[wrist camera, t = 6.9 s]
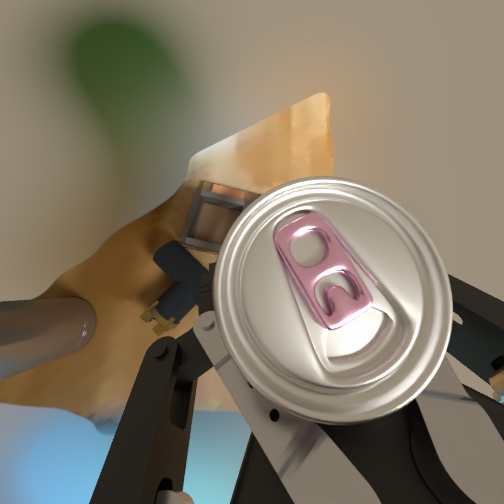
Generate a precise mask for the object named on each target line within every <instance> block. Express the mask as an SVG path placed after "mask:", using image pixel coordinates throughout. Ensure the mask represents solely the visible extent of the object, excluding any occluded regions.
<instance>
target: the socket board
mask: <svg viewBox="0 0 504 504" xmlns="http://www.w3.org/2000/svg"><path fill="white" fill-rule="evenodd" d="M260 196H261V195H259V194H255V193H251V192H246V191H242V190H238V189H234V188H230V187H226V186H222V185H218V184H213V183H209V182H205V181H204V183H203V186H202V189H197V188H196V191H195V194H194V197H193V200H192V203H191V206H190V209H189V212H188V215H187V218H186V221H185V224H184V228H183V231H182V234H181V237H180V240H179V242H181V243H182V244H184V245H183V246H184V247H186V248H190V249H194V250H198V251H202V252H206V253H210V254H214V255H218V254H219V252H220V249H221V246H222V244H223V241H224V239H225V237H226V235H227V233H228V232H229V230H230V228H231V226H232V225H233V224H234V222H235V221H236V219H237V218H238V217H239V216H240V214H241V213H242V212H243V211H244V210H245V209H246V208H247V207H248V206H249V205H250V204H251V203H252V202H253V201H254V200H256V199H257V198H258V197H260Z"/></svg>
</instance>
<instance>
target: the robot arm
mask: <svg viewBox="0 0 504 504" xmlns="http://www.w3.org/2000/svg"><path fill="white" fill-rule="evenodd" d="M215 264H216V262H215V263H211V264H209V272H208V273H205V274H202V276H201V278H200V280H199V317H198V318H197V319H196V321H195V323H194V326H193V327H192V329H190V330H189V331H188V332H186V333H185V334H183V335H181V336H180V337H178V338H177V339H174V338H173V337H170V336H166V337H162V338H160V339H158V340H156V341H155V342H154V343H153V344H152V345H151V346H150V347H149V348H148V350H147V351H146V354H145V356H144V359H143V361H142V364H141V367H140V369H139V372H138V375H137V377H136V380H135V383H134V385H133V388H132V391H131V393H130V396H129V399H128V401H127V404H126V407H125V409H124V412H123V415H122V417H121V420H120V423H119V425H118V428H117V431H116V433H115V436H114V439H113V441H112V444H111V447H110V450H109V452H108V455H107V457H106V460H105V463H104V466H103V468H102V471H101V474H100V476H99V479H98V481H97V484H96V487H95V489H94V492H93V495H92V498H91V500H90V503H89V504H194V502H193V500H192V498H191V497H190V496H189V494H187V493H185V492H182V491H183V483H184V476H185V469H186V461H187V454H188V446H189V439H190V432H191V424H192V417H193V409H194V402H195V395H196V387H197V380H198V377H199V376H201V375H202V374H204V373H205V372H206V371H208V370H209V369H210V368H212V367H213V366H214V367H215V369H216V371H217V373H218V374H219V376H220V378H221V379H222V381H223V383H224V384H225V386H226V388H227V390H228V391H229V393H230V395H231V396H232V398H233V400H234V401H235V403H236V405H237V406H238V408H239V410H240V412H241V413H242V415H243V416H244V418H245V420H246V422H247V423H248V425H249V427H250V428H251V430H252V432H251V435H250V438H249V442H248V445H247V448H246V452H245V455H244V458H243V461H242V465H241V468H240V472H239V475H238V478H237V482H236V485H235V488H234V491H233V495H232V498H231V502H230V504H504V302H503V301H501V300H499V299H497V298H495V297H493V296H491V295H489V294H487V293H485V292H483V291H481V290H479V289H477V288H475V287H473V286H471V285H469V284H467V283H465V282H463V281H461V280H459V279H457V278H455V277H453V276H451V275H449V274H448V277H449V281H450V286H451V292H452V301H453V312H455V313H456V314H458V315H459V316H460V317H461V319H462V321H463V324H462V325H461V324H459V323H457V322H456V321H454V320H453V322H452V330H451V335H450V340H449V344H448V347H447V352H448V353H450V354H451V355H452V356H453V357H455V358H456V359H457V360H458V361H460V362H461V363H462V364H464V365H465V366H466V367H467V368H469V369H470V370H471V371H473V372H474V373H475V374H476V375H478V376H479V377H480V378H481V379H483V380H484V381H485V382H487V383H488V384H489V385H491V387H492V389H493V390H494V391H495V392H494V393H493V398H494V399H492V398H490V397H488V396H486V395H484V394H482V393H480V392H478V391H476V390H474V389H472V388H470V387H468V386H466V385H464V384H462V383H461V382H460V380H459V379H458V377H457V375H456V373H455V372H454V370H453V368H452V366H451V365H450V363H449V361H448V359H447V358H446V356H444V359H443V361H442V363H441V365H440V367H439V369H438V371H437V372H436V374H435V376H434V377H433V379H432V380H431V381H430V383H429V384H428V385H427V387H426V388H425V389H424V390H423V391H422V392H421V393H420V394H419V395H418V396H417V397H416V398H415V399H414V400H413V401H411V402H410V403H409V404H408V405H406V406H405V407H403V408H402V409H400V410H399V411H397V412H395V413H393V414H391V415H389V416H387V417H384V418H382V419H379V420H376V421H373V422H369V423H364V424H357V425H328V424H322V423H317V422H313V421H309V420H306V419H303V418H300V417H298V416H295V415H293V414H291V413H289V412H287V411H285V410H283V409H281V408H280V407H278V406H276V405H275V404H273V403H272V402H271V401H269V400H268V399H267V398H265V397H264V396H263V395H262V394H260V393H259V392H258V391H257V390H256V389H255V388H254V387H253V386H252V385H251V384H250V383H249V382H248V381H247V379H246V378H245V377H244V376H243V374H242V373H241V372H240V371H239V369H238V368H237V366H236V365H235V363H234V361H233V360H232V358H231V356H230V354H229V353H228V351H227V349H226V346H225V344H224V342H223V340H222V337H221V334H220V331H219V328H218V324H217V321H216V317H215V312H214V307H213V298H212V284H213V274H214V269H215ZM95 326H96V316H95V312H94V310H93V308H92V307H91V305H90V304H89V303H88V302H87V301H85V300H83V299H81V298H77V297H65V298H49V299H33V300H19V301H3V302H0V381H3V380H5V379H8V378H10V377H13V376H15V375H18V374H21V373H23V372H26V371H28V370H31V369H33V368H36V367H39V366H41V365H44V364H46V363H49V362H52V361H54V360H57V359H59V358H62V357H64V356H67V355H69V354H72V353H74V352H77V351H78V350H80V349H81V348H83V347H84V346H85V345H86V344H87V343H88V341H89V340H90V339H91V337H92V335H93V333H94V330H95Z"/></svg>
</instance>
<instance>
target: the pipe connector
mask: <svg viewBox="0 0 504 504" xmlns="http://www.w3.org/2000/svg"><path fill="white" fill-rule="evenodd" d="M153 261H154V262H155V263H156V264H157V265H158V266H159V267H160V268H161V269H162V270H163V271H164V272H165V273H166V274H167V275H168V276H169V277H170V278H171V279H172V280H173V281H174V282H175V283H174V284H172V285H171V286H170V287H169V288H168V289H167V290H166V291H165V292H164V293H163V294H162V295H161V296H160V297H159V298H158V299H157V300H155V301H154V302H153V303H152V304H151V305H150V306H149V308H148V309H147V310H146V311H145V312H144V313H143V314H142V315H141V316H140V317H141V318H142V319H143V320H144V321H145V322H146V323H147V322H150V321H151V320H152V319H154V320H156V321H157V322H159V323H158V324H157V325H156V326H155V327H154V328H153V329H152V330H153V331H154V332H155V333H156V334H157V335H158V336H159V335H161V334H162V333H163V332H164V331H168V330H170V329H173V328H175V327H176V326H177V325H178V324H179V322H180V320H181V319H182V318H183V317H184V316H185V315H186V314H187V313H188V312H189V311H190V310H191V309H192V308H193V307H194V306H195V305H196V304H197V305H198V306H199V280H200V278H201V276H202V274H205V273H208V272H209V271H208V270H206V269H205V268H204V267H203V266H202V265H201V264H200V263H199V262H198V261H197V260H196V259H195V258H194V257H193V256H192V255H191V254H190V253H189V252H188V251H187V250H186V249H185V248H184V247H183V246H182V245H181V244H180V243H179V242H178V241H175V240H174V241H170V242H168V243H166V244H165V245H163V246H162V247H161V248H159V249H158V251H157V252H156V253H155V255H154V257H153Z"/></svg>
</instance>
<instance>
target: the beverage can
mask: <svg viewBox="0 0 504 504" xmlns="http://www.w3.org/2000/svg"><path fill="white" fill-rule="evenodd" d="M212 298H213V307H214V312H215V317H216V321H217V324H218V328H219V331H220V334H221V337H222V340H223V342H224V344H225V346H226V349H227V351H228V353H229V354H230V356H231V358H232V360H233V361H234V363H235V365H236V366H237V368H238V369H239V371H240V372H241V373H242V374H243V376H244V377H245V378H246V379H247V381H248V382H249V383H250V384H251V385H252V386H253V387H254V388H255V389H256V390H257V391H258V392H259V393H260V394H262V395H263V396H264V397H265V398H267V399H268V400H269V401H271V402H272V403H273V404H275V405H276V406H278V407H280V408H281V409H283V410H285V411H287V412H289V413H291V414H293V415H295V416H298V417H300V418H303V419H306V420H309V421H313V422H317V423H322V424H328V425H357V424H364V423H369V422H373V421H376V420H379V419H382V418H384V417H387V416H389V415H391V414H393V413H395V412H397V411H399V410H400V409H402V408H403V407H405V406H406V405H408V404H409V403H410V402H411V401H413V400H414V399H415V398H416V397H417V396H418V395H419V394H420V393H421V392H422V391H423V390H424V389H425V388H426V387H427V385H428V384H429V383H430V381H431V380H432V379H433V377H434V376H435V374H436V372H437V371H438V369H439V367H440V365H441V363H442V361H443V359H444V356H445V353H446V351H447V347H448V344H449V340H450V335H451V330H452V322H453V301H452V292H451V286H450V281H449V277H448V273H447V270H446V267H445V265H444V262H443V259H442V257H441V255H440V253H439V251H438V249H437V247H436V245H435V244H434V242H433V240H432V238H431V237H430V235H429V234H428V232H427V231H426V229H425V228H424V227H423V226H422V224H421V223H420V222H419V221H418V220H417V219H416V218H415V216H414V215H412V214H411V212H410V211H408V210H407V209H406V208H405V207H404V206H403V205H401V204H400V203H399V202H398V201H396V200H395V199H393V198H392V197H390V196H389V195H387V194H385V193H384V192H382V191H380V190H378V189H376V188H374V187H372V186H369V185H367V184H364V183H361V182H358V181H355V180H351V179H346V178H341V177H331V176H316V177H307V178H301V179H297V180H293V181H290V182H287V183H284V184H281V185H279V186H277V187H275V188H273V189H271V190H269V191H267V192H266V193H264V194H263V195H261V196H260V197H258V198H257V199H256V200H254V201H253V202H252V203H251V204H250V205H249V206H248V207H247V208H246V209H245V210H244V211H243V212H242V213H241V214H240V216H239V217H238V218H237V219H236V221H235V222H234V224H233V225H232V226H231V228H230V230H229V232H228V233H227V235H226V237H225V239H224V241H223V244H222V246H221V249H220V252H219V254H218V257H217V260H216V264H215V269H214V274H213V284H212Z"/></svg>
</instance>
